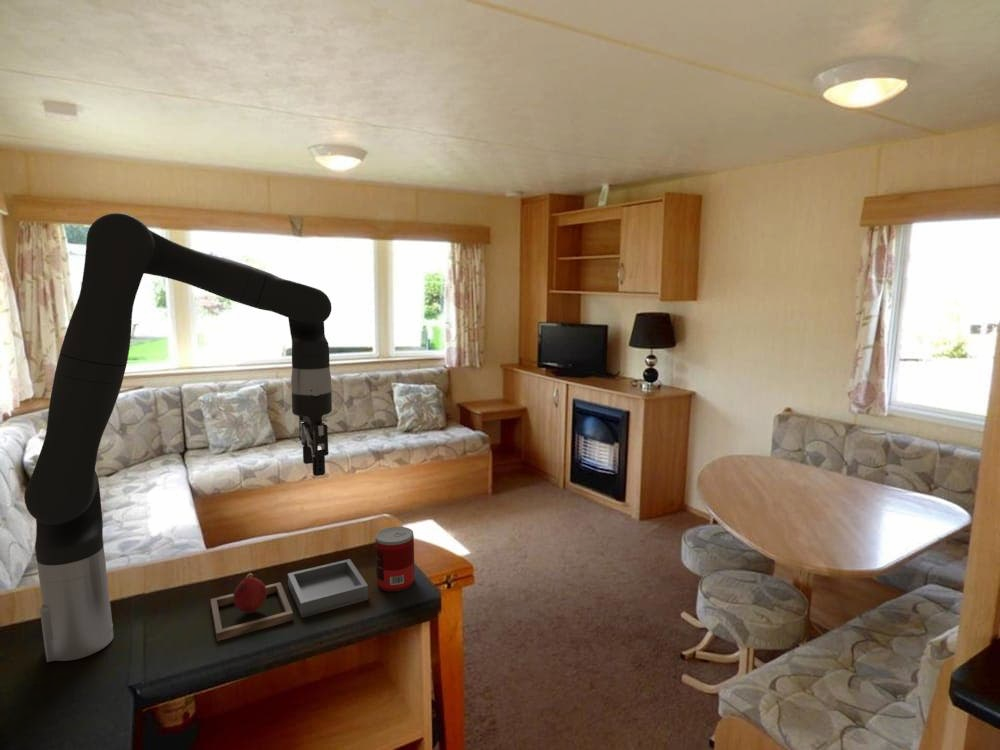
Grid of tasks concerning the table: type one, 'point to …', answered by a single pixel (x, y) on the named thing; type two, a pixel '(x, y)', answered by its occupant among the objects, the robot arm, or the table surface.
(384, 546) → the canned food
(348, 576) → the bin
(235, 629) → the square frame
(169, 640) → the table surface
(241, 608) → the onion
